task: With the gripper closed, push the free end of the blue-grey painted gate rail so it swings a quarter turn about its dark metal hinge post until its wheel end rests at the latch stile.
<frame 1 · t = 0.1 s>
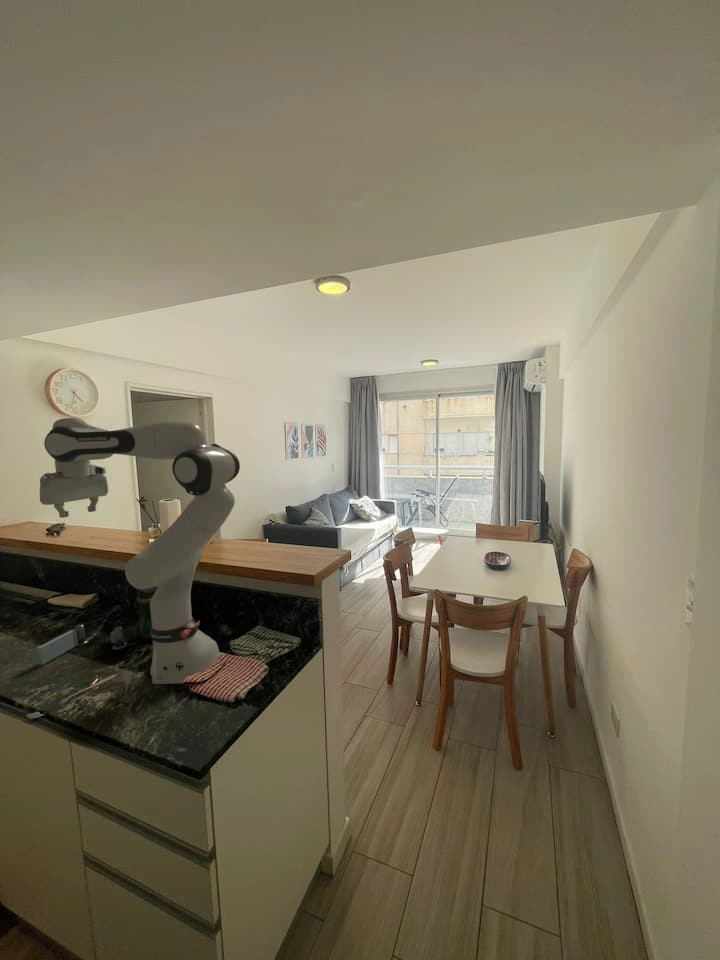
hand: (78, 514, 119), 48 cm above the table, fingers open, 8 cm apart
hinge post: (81, 643, 133), on the table
gate: (58, 646, 125), point 3 cm above the table, hinge at 0.0°
coffee jar: (155, 633, 138), on the table
fork: (81, 695, 105), on the table
latch stile: (119, 646, 130), on the table
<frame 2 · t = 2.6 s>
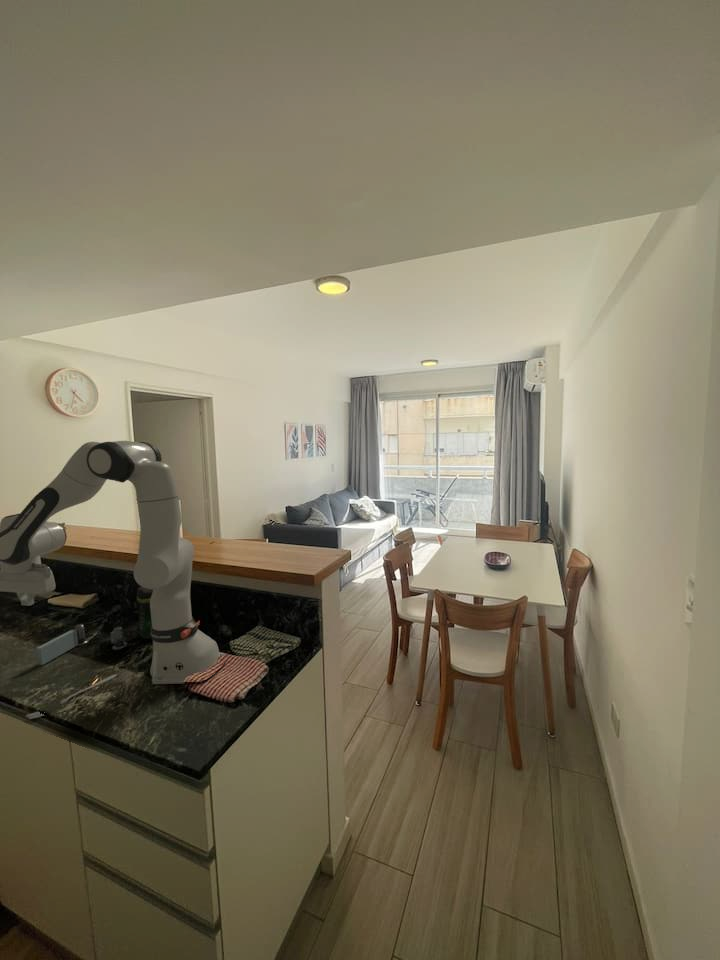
hand: (27, 604, 121), 19 cm above the table, fingers closed
nothing on the table moved.
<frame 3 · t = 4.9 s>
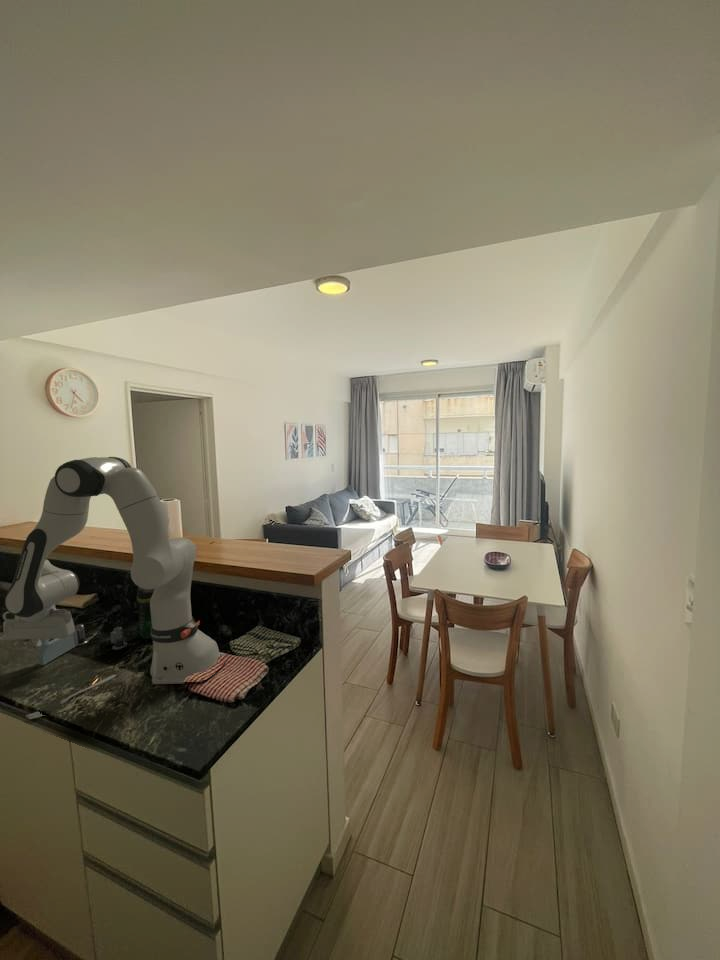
hand: (42, 650, 122), 4 cm above the table, fingers closed
gate: (58, 646, 125), point 3 cm above the table, hinge at 2.0°, touching gripper
everything else where it was.
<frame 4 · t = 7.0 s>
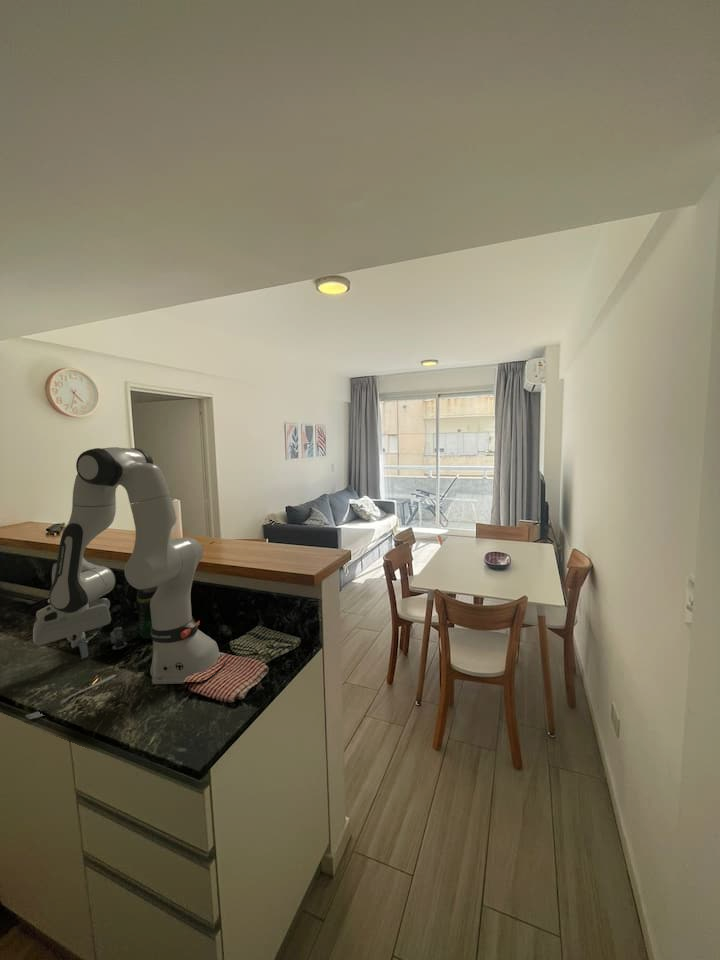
hand: (75, 646, 123), 4 cm above the table, fingers closed
gate: (82, 642, 127), point 3 cm above the table, hinge at 52.8°, touching gripper
everything else where it was.
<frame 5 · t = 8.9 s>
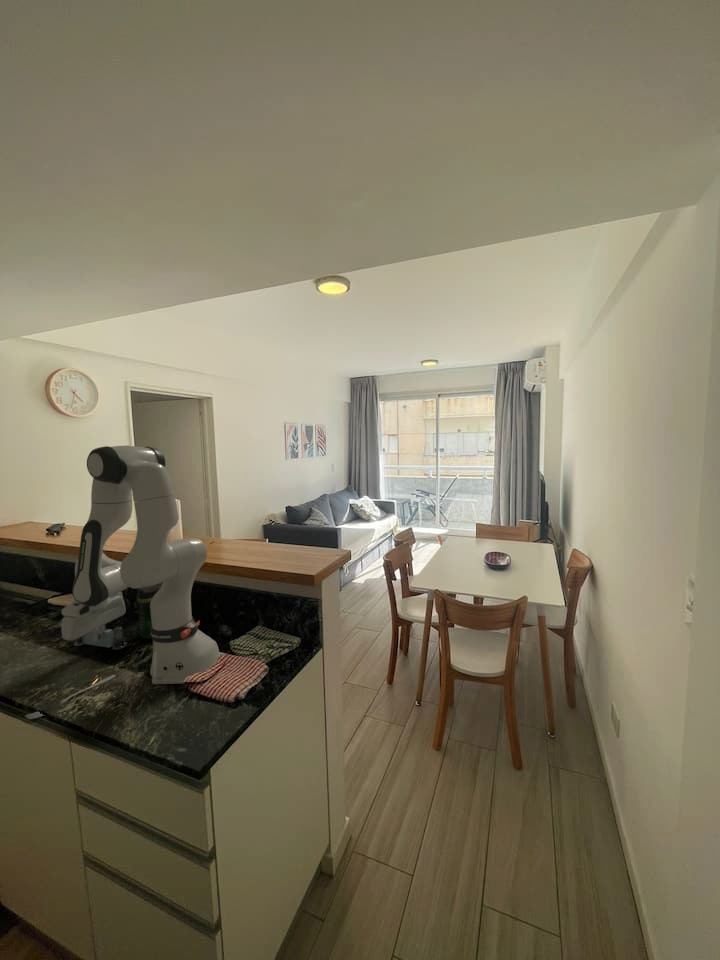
hand: (98, 639, 127), 4 cm above the table, fingers closed
gate: (97, 636, 130), point 3 cm above the table, hinge at 85.8°, touching gripper
everything else where it was.
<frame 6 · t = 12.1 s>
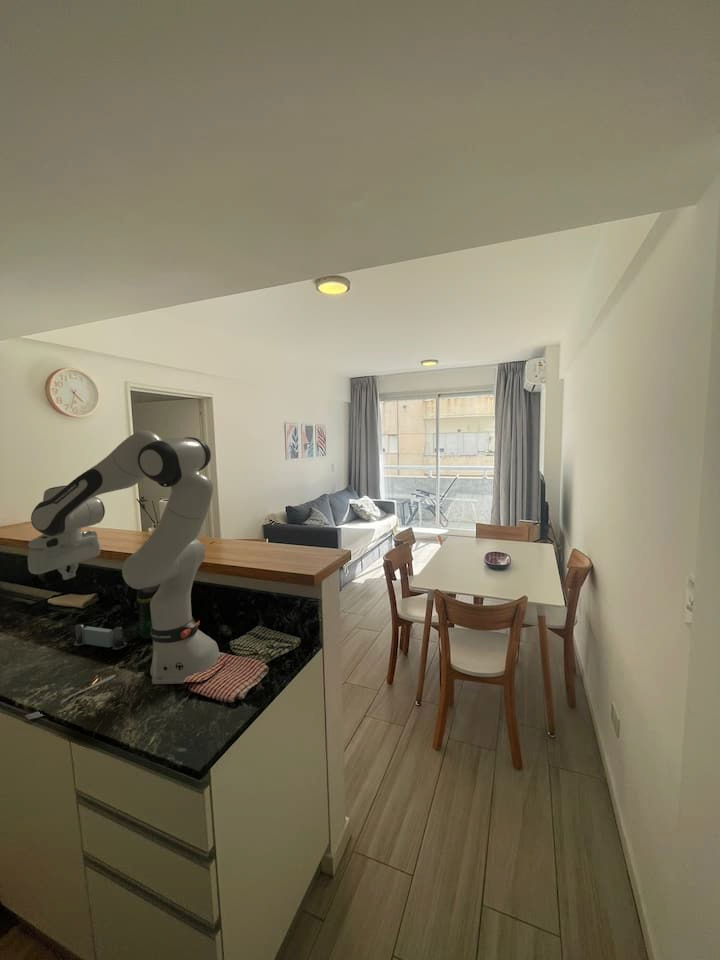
hand: (69, 578, 121), 27 cm above the table, fingers closed
gate: (97, 636, 130), point 3 cm above the table, hinge at 85.9°
everything else where it was.
at the end: gate at +86° (first picture: +0°); coffee jar moved 0.2 cm from its start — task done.
